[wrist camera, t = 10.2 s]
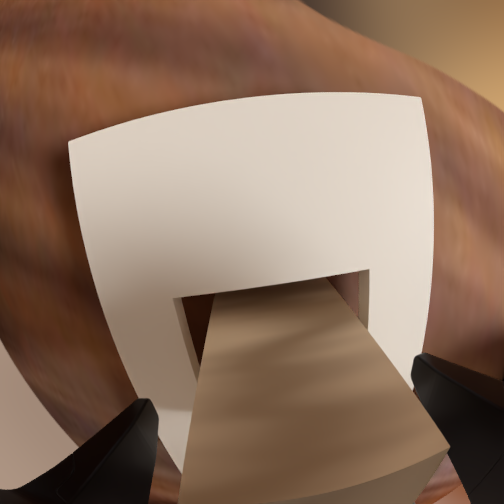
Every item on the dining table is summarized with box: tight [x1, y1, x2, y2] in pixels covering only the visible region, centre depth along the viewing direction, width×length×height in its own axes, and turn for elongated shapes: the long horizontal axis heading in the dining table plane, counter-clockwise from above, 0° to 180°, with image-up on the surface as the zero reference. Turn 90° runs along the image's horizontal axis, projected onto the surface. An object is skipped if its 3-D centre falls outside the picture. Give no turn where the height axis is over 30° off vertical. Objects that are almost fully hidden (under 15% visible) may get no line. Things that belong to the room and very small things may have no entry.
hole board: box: [68, 92, 434, 474], centre depth 12 cm, size 12×18×4 cm, turn 8°
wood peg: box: [178, 277, 450, 504], centre depth 8 cm, size 4×4×10 cm
